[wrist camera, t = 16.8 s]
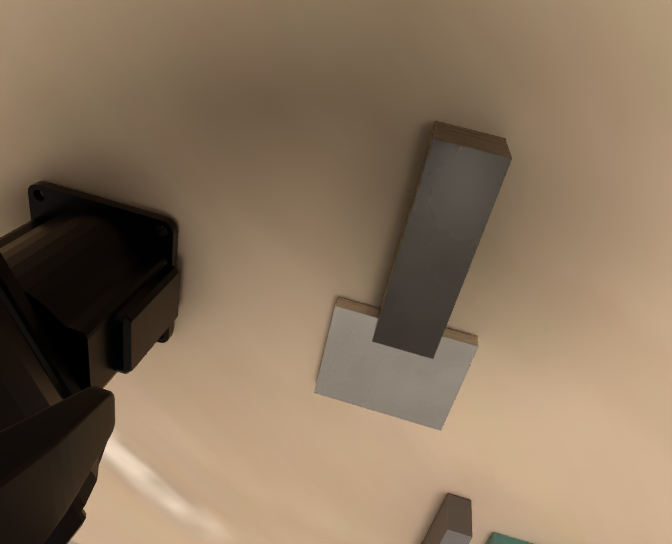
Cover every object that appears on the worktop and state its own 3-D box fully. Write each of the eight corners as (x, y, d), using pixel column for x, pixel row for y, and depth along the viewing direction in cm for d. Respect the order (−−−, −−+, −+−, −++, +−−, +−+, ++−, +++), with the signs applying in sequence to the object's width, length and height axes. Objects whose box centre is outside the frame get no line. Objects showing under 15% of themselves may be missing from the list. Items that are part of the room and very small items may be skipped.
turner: (384, 107, 18) (375, 123, 16) (558, 151, 17) (572, 173, 15) (318, 381, 24) (305, 417, 22) (441, 417, 24) (440, 458, 22)
